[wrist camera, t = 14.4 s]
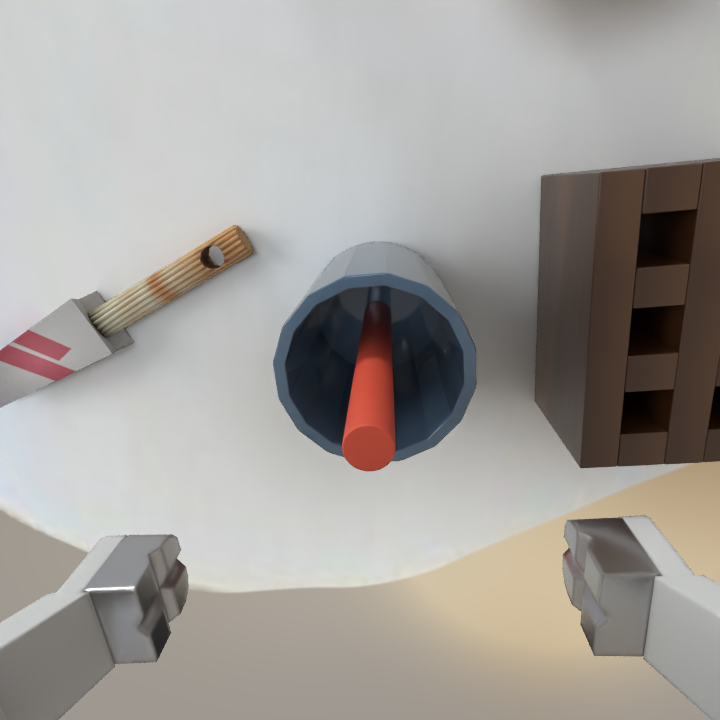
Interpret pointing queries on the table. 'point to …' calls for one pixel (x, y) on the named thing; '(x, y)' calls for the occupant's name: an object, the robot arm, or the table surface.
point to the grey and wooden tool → (105, 320)
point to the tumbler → (409, 348)
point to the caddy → (631, 313)
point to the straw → (372, 395)
